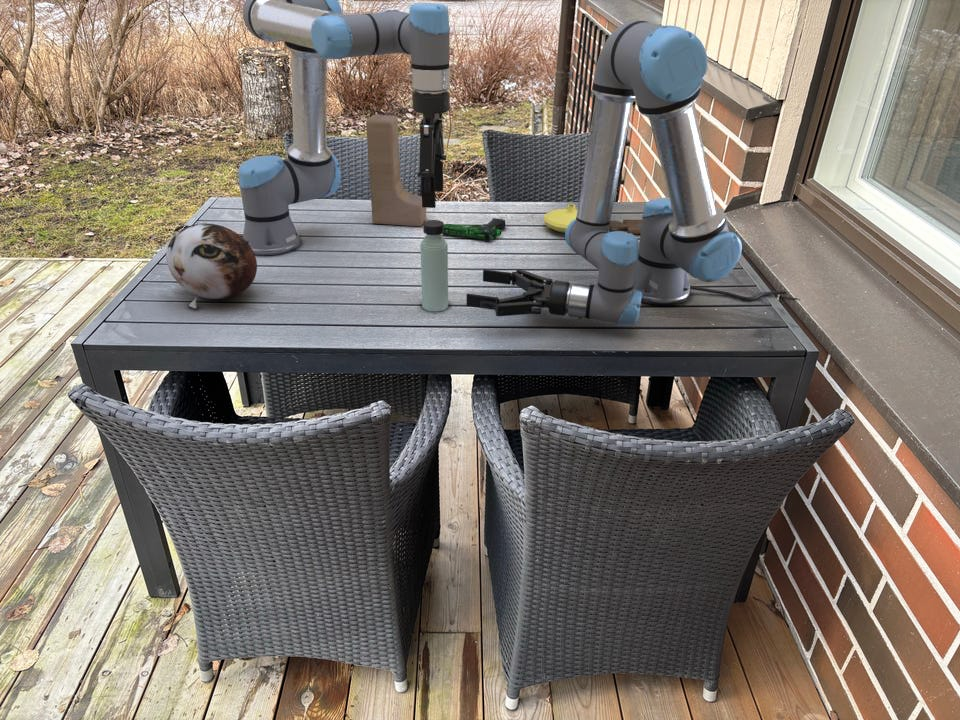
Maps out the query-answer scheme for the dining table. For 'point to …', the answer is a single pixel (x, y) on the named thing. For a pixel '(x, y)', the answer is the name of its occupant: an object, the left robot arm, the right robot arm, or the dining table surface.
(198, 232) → the cat face balloon
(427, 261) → the bottle
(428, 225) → the cap
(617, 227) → the dark wooden board
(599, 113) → the right robot arm
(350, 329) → the dining table surface
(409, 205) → the decorative block
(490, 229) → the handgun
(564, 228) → the yellow low dome
